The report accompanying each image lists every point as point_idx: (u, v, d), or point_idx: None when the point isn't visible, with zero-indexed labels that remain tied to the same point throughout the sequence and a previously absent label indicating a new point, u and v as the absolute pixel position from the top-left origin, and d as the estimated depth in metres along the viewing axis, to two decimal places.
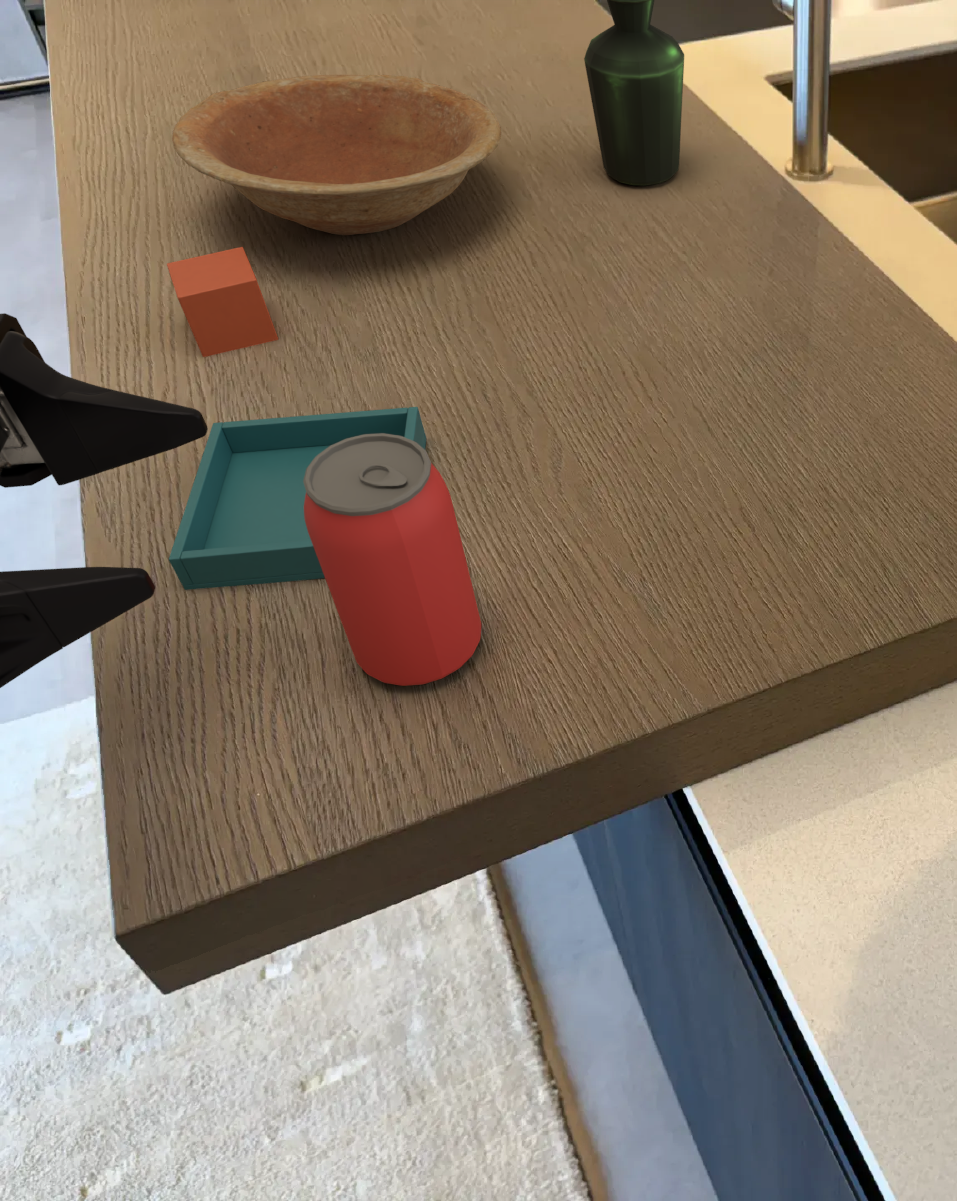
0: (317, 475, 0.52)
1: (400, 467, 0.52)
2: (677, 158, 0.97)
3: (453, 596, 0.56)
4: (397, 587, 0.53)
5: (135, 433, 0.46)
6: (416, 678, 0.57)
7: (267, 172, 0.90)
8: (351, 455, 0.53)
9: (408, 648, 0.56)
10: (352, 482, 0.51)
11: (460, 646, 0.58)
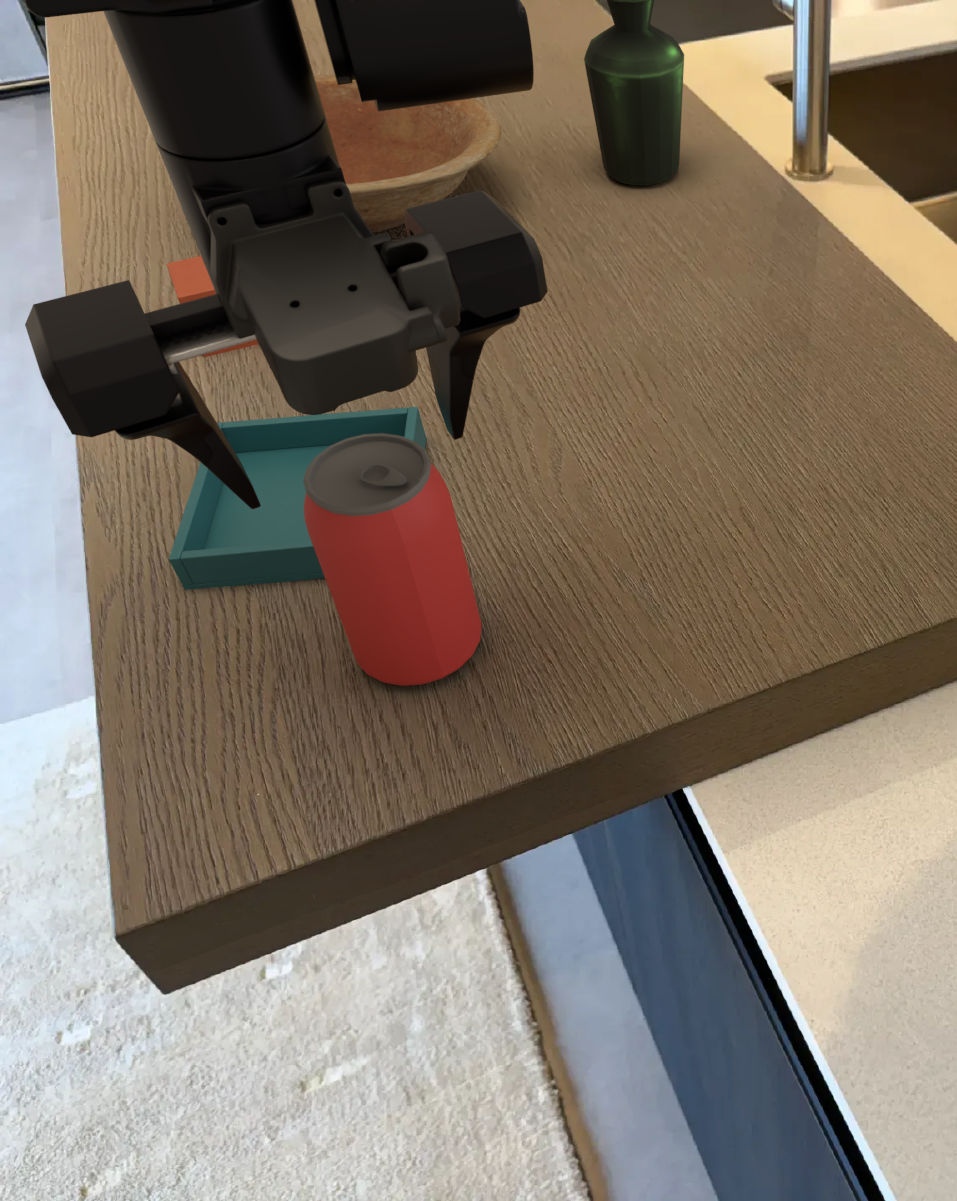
0: (317, 475, 0.52)
1: (400, 467, 0.52)
2: (677, 158, 0.97)
3: (453, 596, 0.56)
4: (397, 587, 0.53)
5: (440, 384, 0.51)
6: (416, 678, 0.57)
7: None
8: (351, 455, 0.53)
9: (408, 648, 0.56)
10: (352, 482, 0.51)
11: (460, 646, 0.58)
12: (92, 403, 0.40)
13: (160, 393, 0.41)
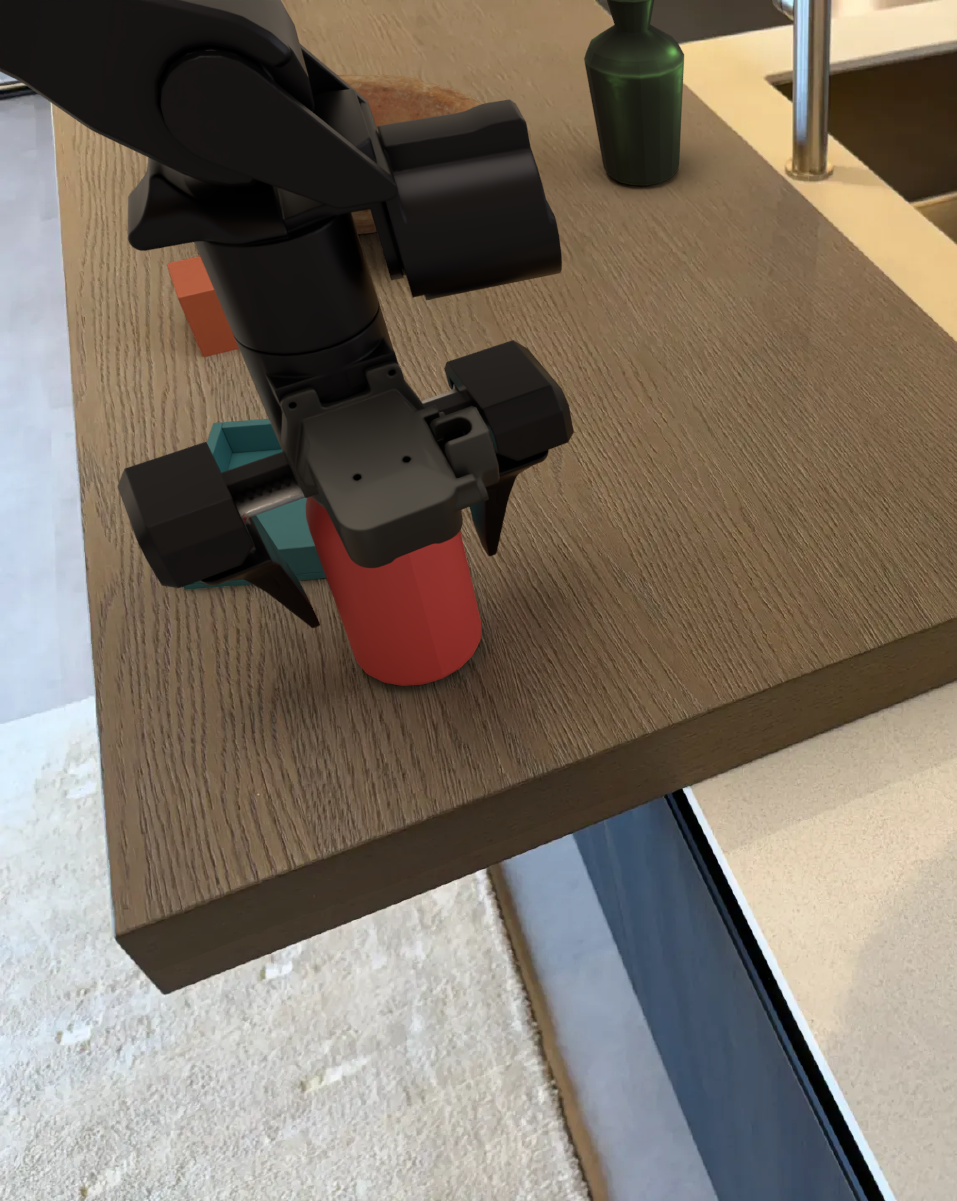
0: None
1: None
2: (677, 158, 0.97)
3: (454, 596, 0.56)
4: (398, 587, 0.53)
5: (476, 510, 0.57)
6: (416, 678, 0.57)
7: None
8: None
9: (408, 648, 0.56)
10: None
11: (460, 646, 0.58)
12: (180, 560, 0.46)
13: (237, 547, 0.47)
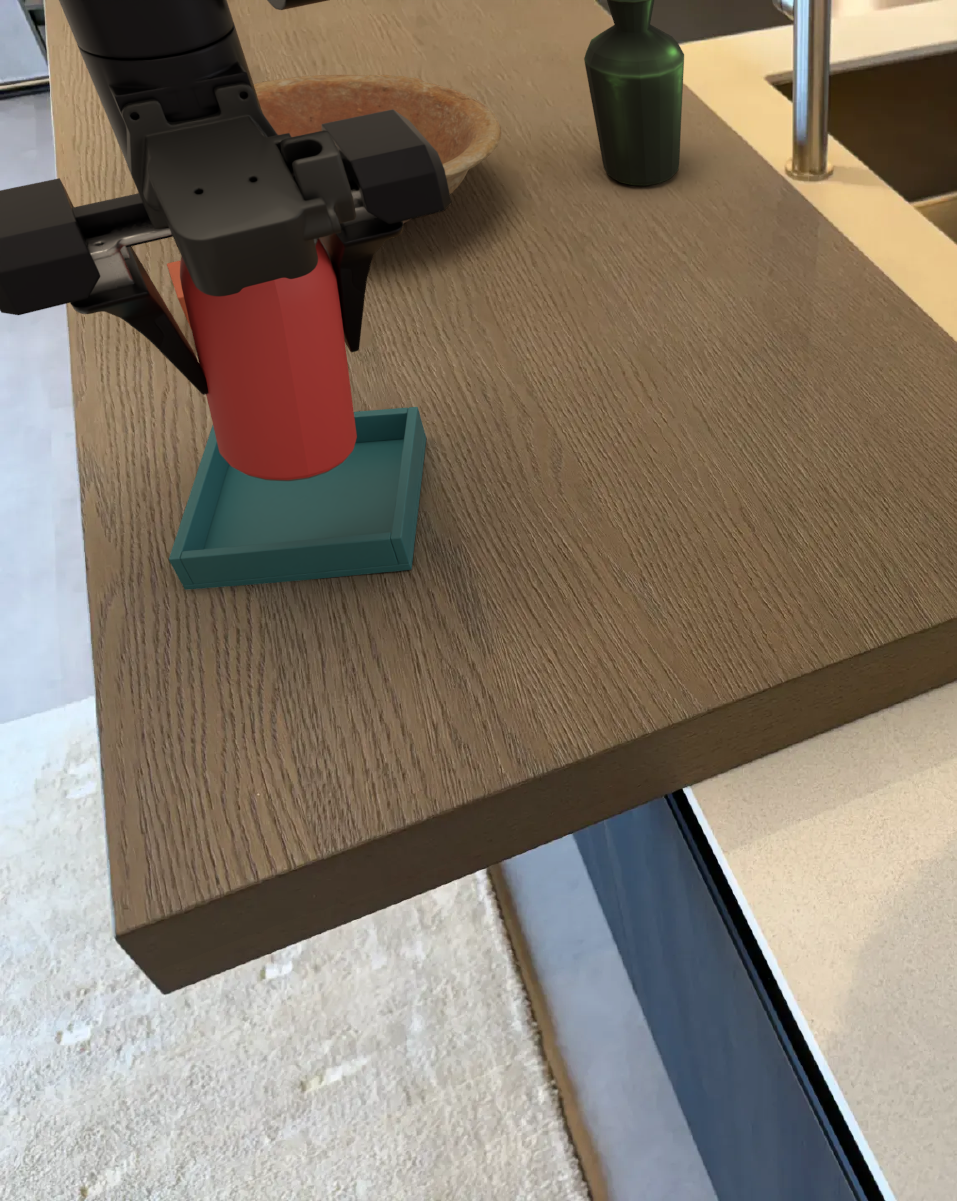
0: None
1: None
2: (677, 158, 0.97)
3: (328, 385, 0.54)
4: (268, 356, 0.51)
5: None
6: (280, 471, 0.56)
7: None
8: None
9: (274, 433, 0.54)
10: None
11: (330, 445, 0.56)
12: (19, 282, 0.44)
13: (82, 277, 0.46)
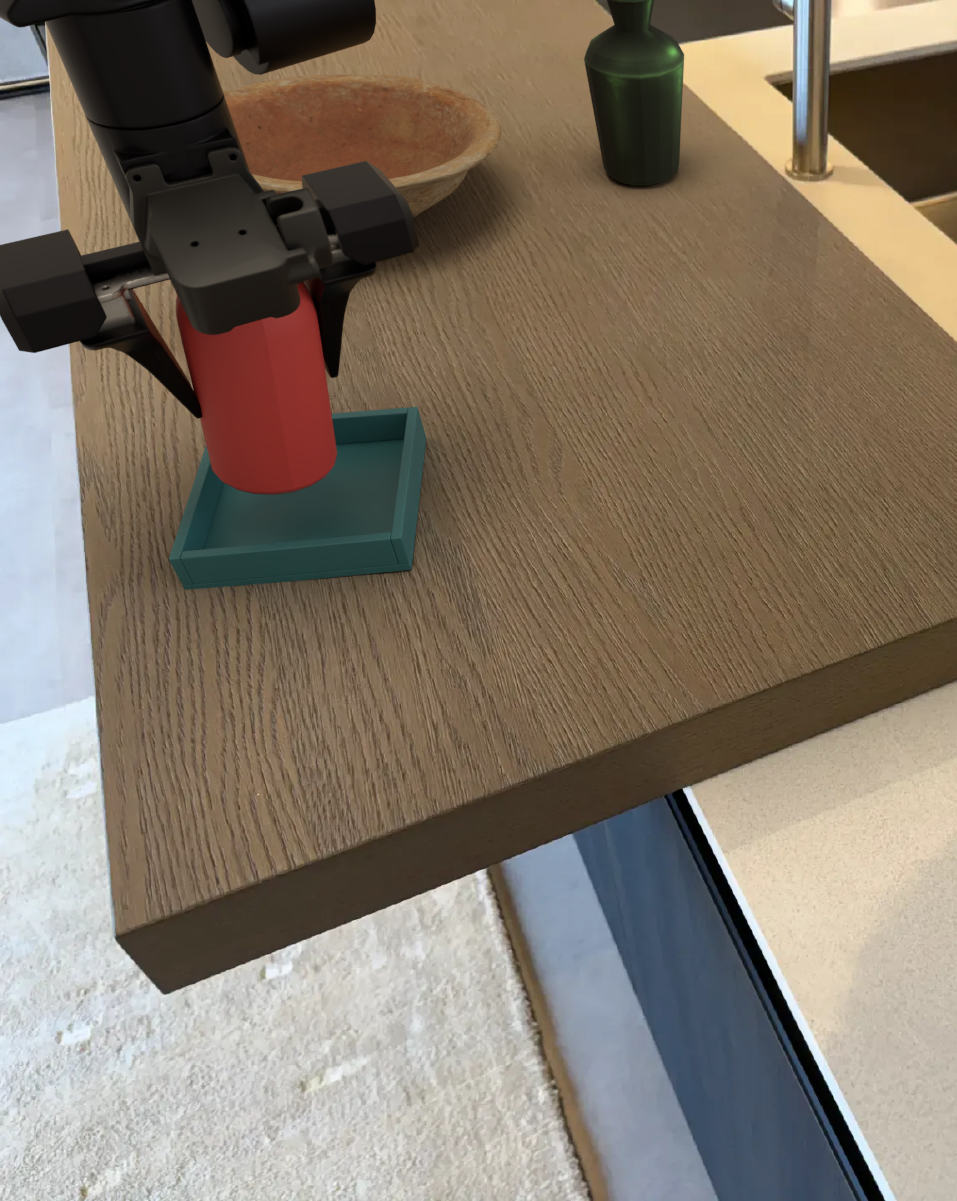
0: None
1: None
2: (677, 158, 0.97)
3: (310, 408, 0.60)
4: (256, 384, 0.57)
5: None
6: (268, 486, 0.62)
7: (267, 172, 0.90)
8: None
9: (262, 451, 0.60)
10: None
11: (313, 462, 0.62)
12: (35, 324, 0.50)
13: (90, 318, 0.51)
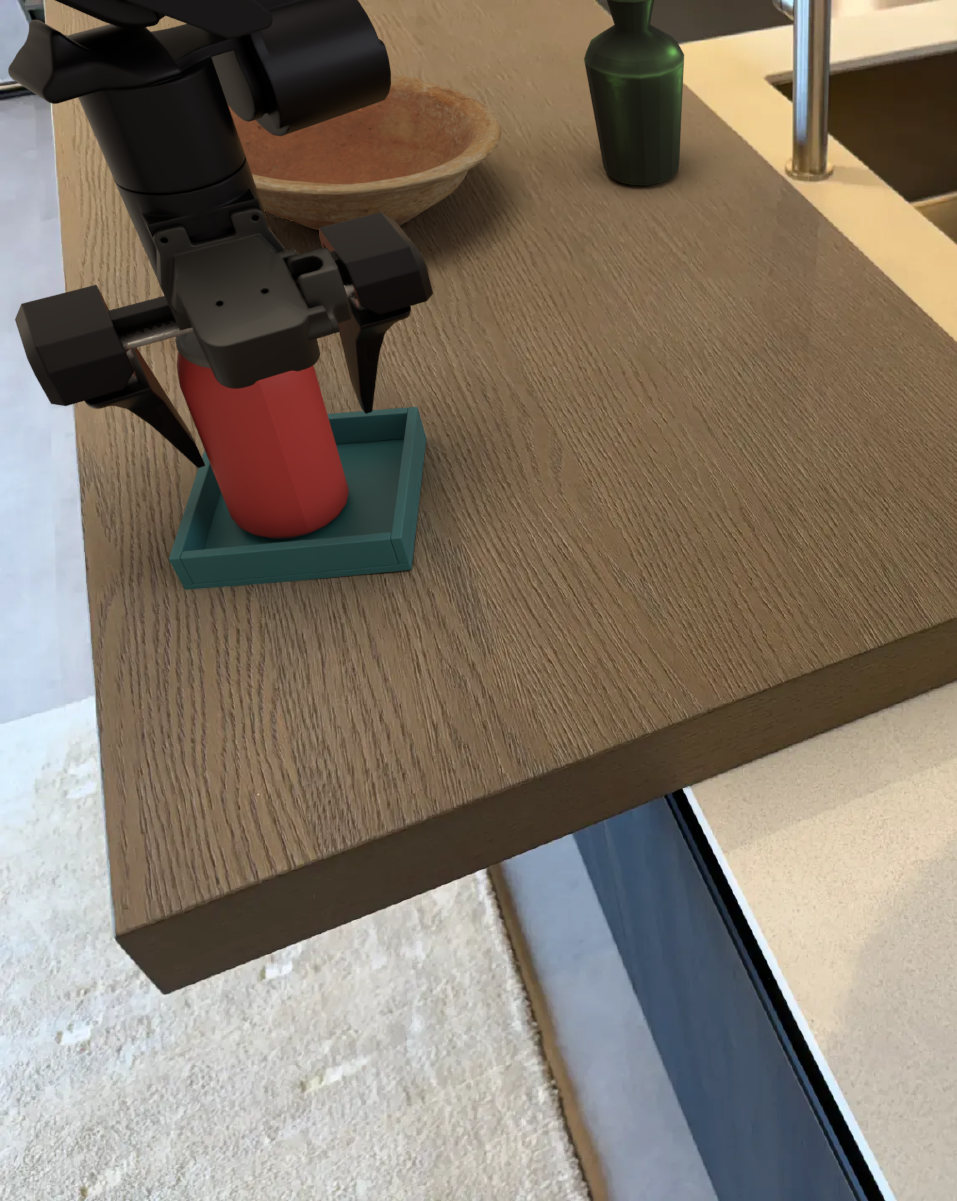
0: (189, 335, 0.58)
1: None
2: (677, 158, 0.97)
3: (316, 455, 0.62)
4: (260, 439, 0.59)
5: (351, 368, 0.64)
6: (283, 531, 0.64)
7: (267, 172, 0.90)
8: None
9: (274, 500, 0.62)
10: None
11: (324, 504, 0.64)
12: (66, 379, 0.52)
13: (119, 372, 0.54)
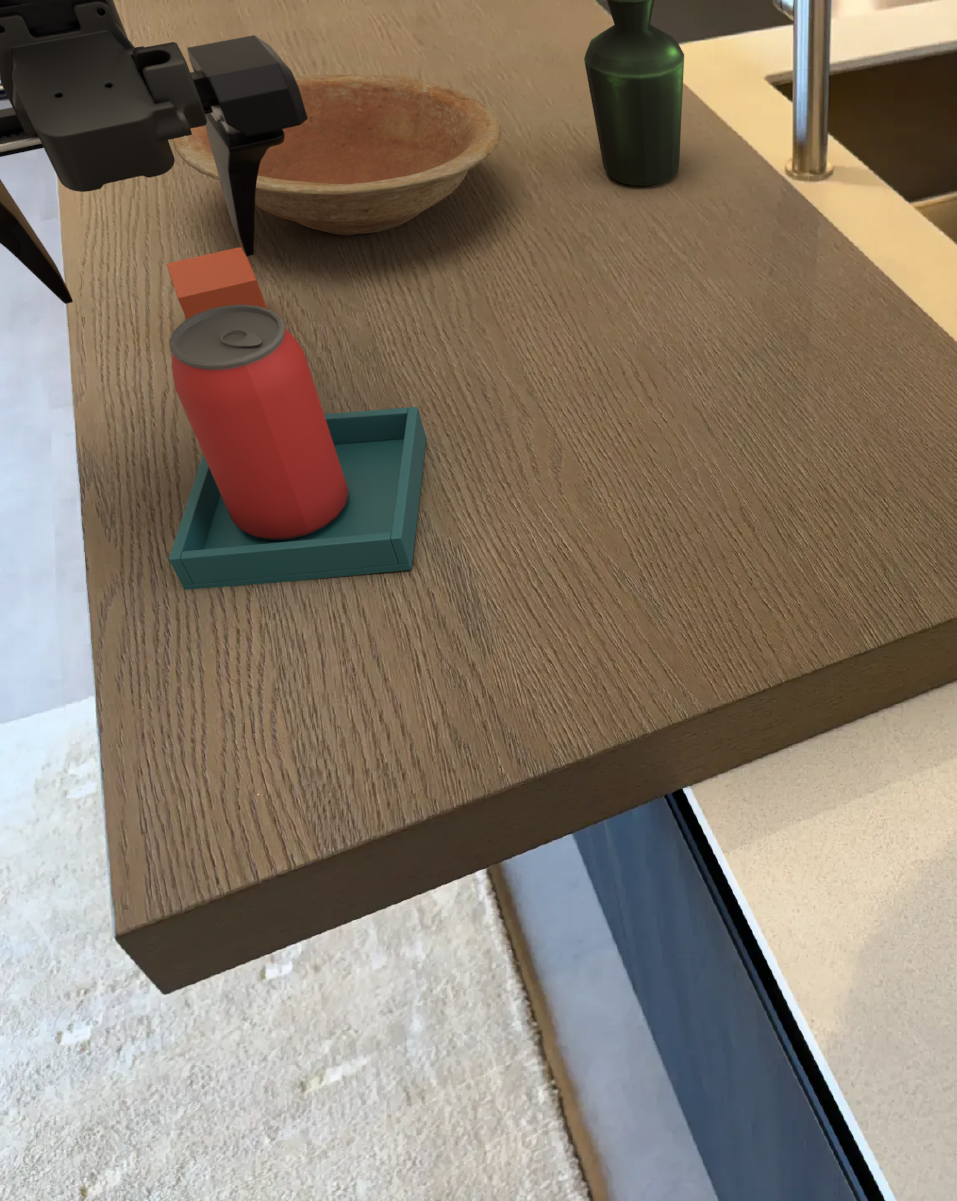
0: (182, 338, 0.58)
1: (257, 332, 0.59)
2: (677, 158, 0.97)
3: (313, 454, 0.62)
4: (256, 439, 0.59)
5: (229, 205, 0.61)
6: (283, 532, 0.64)
7: (267, 172, 0.90)
8: (215, 322, 0.59)
9: (272, 501, 0.62)
10: (213, 343, 0.58)
11: (323, 504, 0.64)
12: None
13: None
